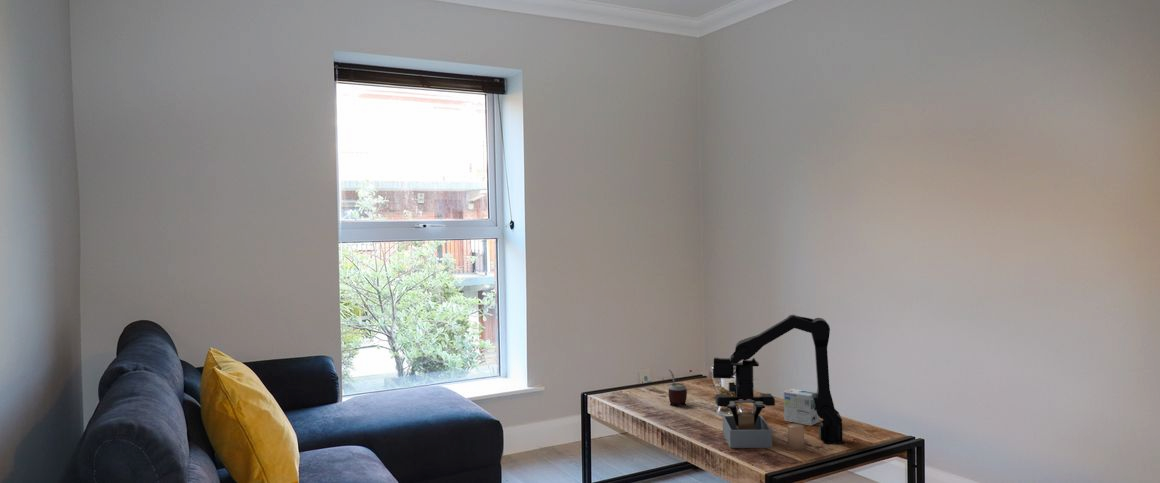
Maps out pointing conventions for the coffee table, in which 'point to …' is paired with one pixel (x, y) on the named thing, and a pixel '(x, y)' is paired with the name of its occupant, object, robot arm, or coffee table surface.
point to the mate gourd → (677, 393)
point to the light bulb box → (800, 407)
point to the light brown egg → (795, 437)
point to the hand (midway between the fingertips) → (745, 425)
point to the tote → (747, 434)
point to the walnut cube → (745, 421)
